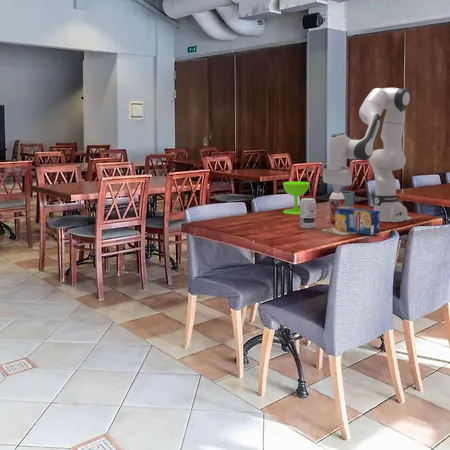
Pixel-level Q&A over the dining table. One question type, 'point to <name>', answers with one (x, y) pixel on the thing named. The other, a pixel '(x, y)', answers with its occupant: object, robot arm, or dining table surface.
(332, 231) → the board
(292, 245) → the dining table surface
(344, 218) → the cracker box
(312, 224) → the supplement can
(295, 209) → the wineglass
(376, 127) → the robot arm
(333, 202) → the smoothie
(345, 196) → the grey green plant pot
